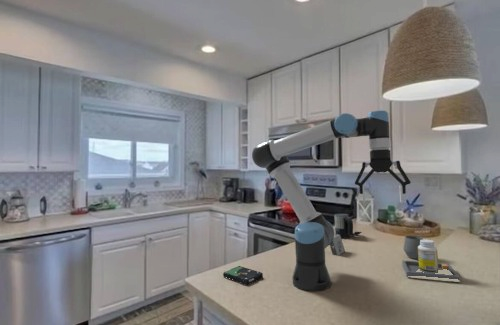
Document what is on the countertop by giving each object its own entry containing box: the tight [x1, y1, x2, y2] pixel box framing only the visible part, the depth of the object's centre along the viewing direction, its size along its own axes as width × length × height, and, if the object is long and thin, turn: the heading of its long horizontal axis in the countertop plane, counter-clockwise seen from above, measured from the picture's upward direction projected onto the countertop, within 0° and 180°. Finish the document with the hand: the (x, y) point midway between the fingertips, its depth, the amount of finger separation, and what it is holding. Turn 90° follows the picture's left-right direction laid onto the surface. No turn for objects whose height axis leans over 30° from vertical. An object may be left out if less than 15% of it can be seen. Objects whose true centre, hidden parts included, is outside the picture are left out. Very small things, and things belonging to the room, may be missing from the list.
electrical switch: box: [329, 235, 346, 256], centre depth 152 cm, size 9×5×9 cm, turn 141°
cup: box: [403, 235, 424, 260], centre depth 139 cm, size 10×9×10 cm
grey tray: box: [401, 260, 461, 281], centre depth 118 cm, size 18×15×2 cm
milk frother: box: [333, 213, 362, 239], centre depth 186 cm, size 14×16×15 cm
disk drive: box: [222, 265, 264, 286], centre depth 122 cm, size 10×3×15 cm
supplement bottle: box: [417, 238, 439, 274], centre depth 118 cm, size 7×7×13 cm
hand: (382, 202), depth 112 cm, fingers open, 13 cm apart
